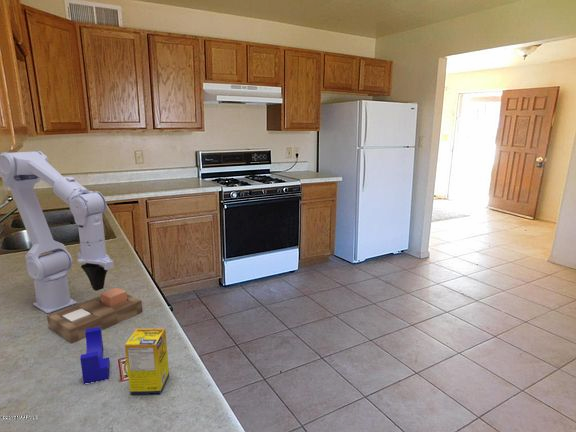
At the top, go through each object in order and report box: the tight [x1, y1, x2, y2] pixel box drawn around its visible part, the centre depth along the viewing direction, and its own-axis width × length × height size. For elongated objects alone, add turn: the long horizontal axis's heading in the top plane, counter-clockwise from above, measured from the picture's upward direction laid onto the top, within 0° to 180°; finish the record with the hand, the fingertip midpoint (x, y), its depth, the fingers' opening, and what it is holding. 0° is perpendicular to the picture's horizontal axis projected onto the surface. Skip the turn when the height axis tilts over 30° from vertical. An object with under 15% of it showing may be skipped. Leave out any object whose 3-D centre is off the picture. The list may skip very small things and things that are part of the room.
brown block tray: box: [46, 293, 143, 344], centre depth 99 cm, size 12×19×4 cm, turn 145°
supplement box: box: [124, 327, 170, 395], centre depth 73 cm, size 6×6×11 cm
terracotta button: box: [99, 287, 128, 307], centre depth 102 cm, size 5×5×4 cm
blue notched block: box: [80, 327, 111, 385], centre depth 80 cm, size 12×4×6 cm, turn 23°
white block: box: [62, 309, 91, 323], centre depth 95 cm, size 5×5×4 cm
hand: (98, 289), depth 98 cm, fingers closed
